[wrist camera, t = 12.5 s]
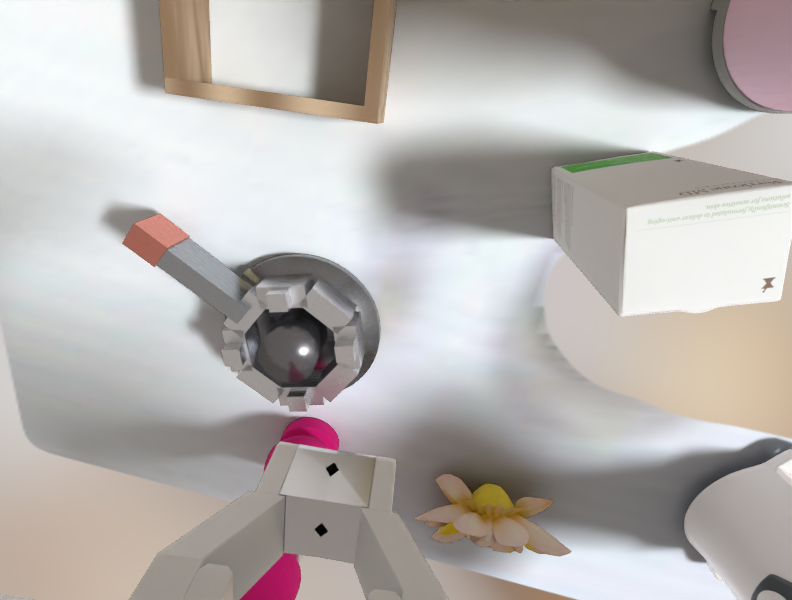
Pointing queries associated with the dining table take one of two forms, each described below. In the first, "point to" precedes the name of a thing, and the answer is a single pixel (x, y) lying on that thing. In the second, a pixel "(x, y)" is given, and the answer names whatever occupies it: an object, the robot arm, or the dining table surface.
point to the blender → (755, 52)
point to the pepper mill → (282, 580)
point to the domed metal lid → (309, 321)
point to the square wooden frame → (192, 77)
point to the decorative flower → (490, 519)
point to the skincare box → (673, 232)
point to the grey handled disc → (258, 312)
